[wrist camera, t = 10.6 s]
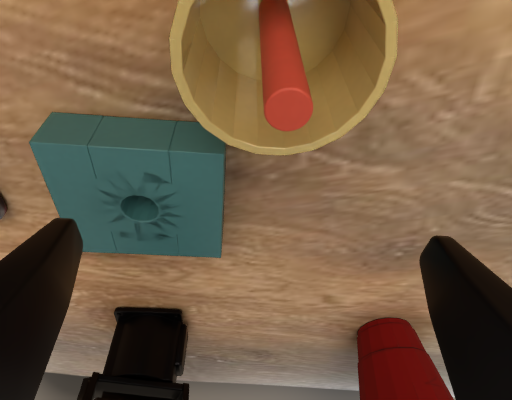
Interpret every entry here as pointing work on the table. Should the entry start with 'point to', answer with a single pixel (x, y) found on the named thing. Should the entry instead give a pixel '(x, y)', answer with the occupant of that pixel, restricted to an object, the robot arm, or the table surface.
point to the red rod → (282, 69)
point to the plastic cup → (396, 364)
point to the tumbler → (250, 72)
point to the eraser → (2, 208)
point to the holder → (135, 182)
